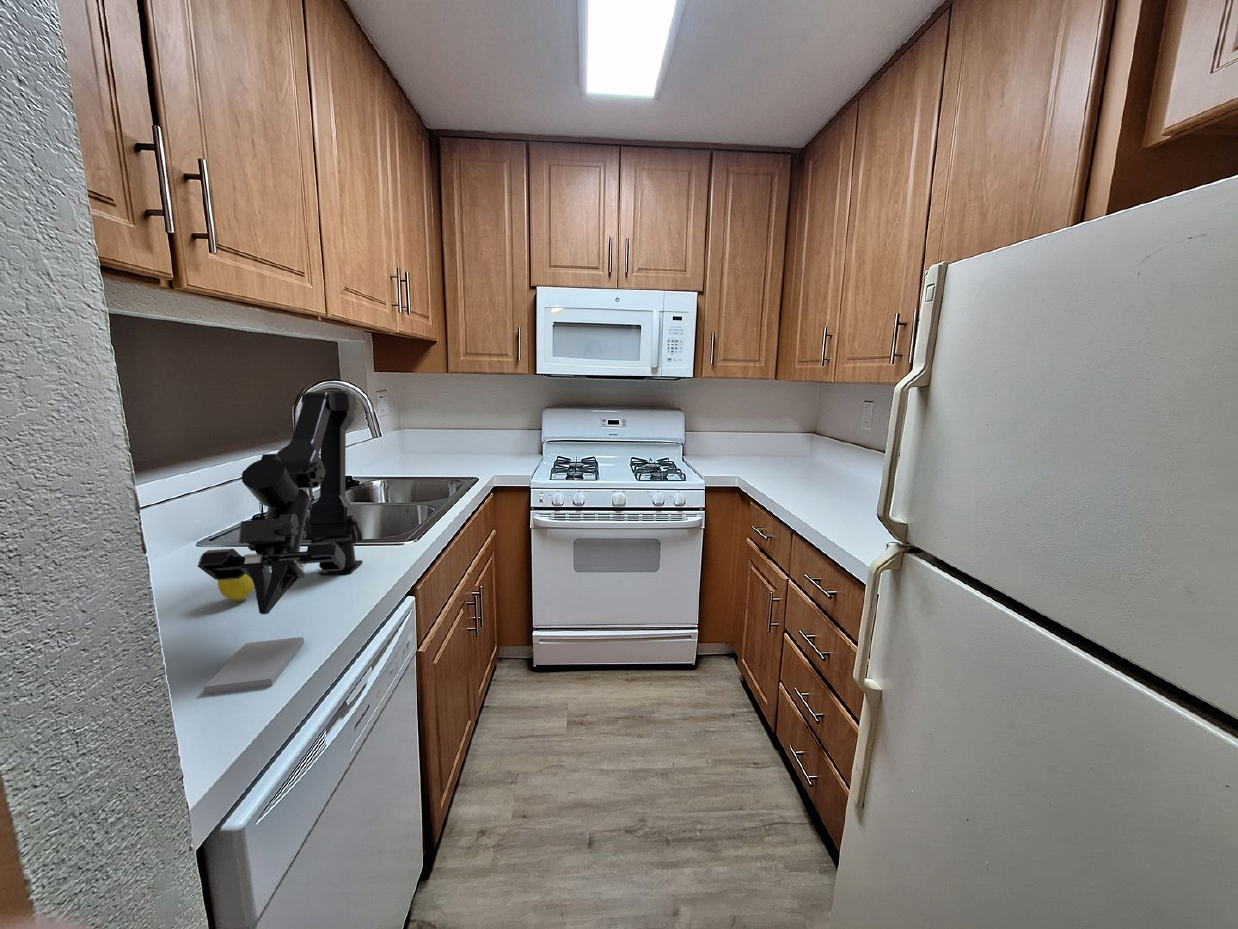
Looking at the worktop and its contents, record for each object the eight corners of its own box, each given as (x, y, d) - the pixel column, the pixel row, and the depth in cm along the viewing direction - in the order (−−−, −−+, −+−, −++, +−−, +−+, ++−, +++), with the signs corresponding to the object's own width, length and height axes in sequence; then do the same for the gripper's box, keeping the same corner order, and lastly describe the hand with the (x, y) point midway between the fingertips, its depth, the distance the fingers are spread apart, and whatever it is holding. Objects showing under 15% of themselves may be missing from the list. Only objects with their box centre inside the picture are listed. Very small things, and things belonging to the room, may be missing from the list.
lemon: (253, 591, 97) (246, 553, 95) (262, 599, 94) (255, 559, 92) (217, 602, 93) (210, 561, 91) (225, 610, 89) (218, 569, 88)
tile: (245, 643, 77) (204, 686, 66) (303, 637, 78) (271, 678, 68) (247, 652, 77) (205, 697, 66) (304, 645, 79) (272, 688, 68)
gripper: (194, 500, 74) (157, 601, 66) (331, 492, 78) (313, 587, 69) (230, 533, 83) (202, 627, 75) (351, 525, 87) (338, 613, 78)
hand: (263, 613), depth 74 cm, fingers closed
